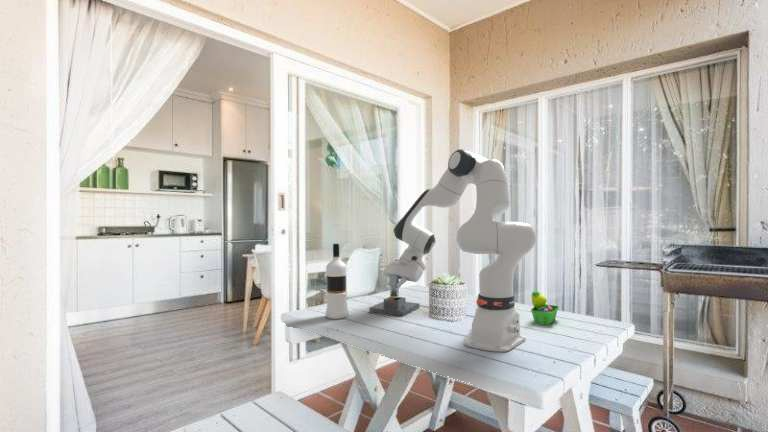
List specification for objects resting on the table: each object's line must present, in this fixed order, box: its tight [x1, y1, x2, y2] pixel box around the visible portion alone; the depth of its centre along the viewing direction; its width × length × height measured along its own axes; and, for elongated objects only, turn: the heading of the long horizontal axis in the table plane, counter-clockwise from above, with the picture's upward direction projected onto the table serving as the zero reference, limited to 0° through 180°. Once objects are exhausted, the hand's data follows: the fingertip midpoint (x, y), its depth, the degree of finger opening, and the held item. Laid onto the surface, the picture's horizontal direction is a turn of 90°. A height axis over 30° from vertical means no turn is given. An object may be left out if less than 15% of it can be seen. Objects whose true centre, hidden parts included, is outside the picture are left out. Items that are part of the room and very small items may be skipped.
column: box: [389, 274, 400, 300], centre depth 176 cm, size 4×4×10 cm
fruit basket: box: [530, 290, 560, 326], centre depth 156 cm, size 11×9×11 cm
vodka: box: [325, 243, 350, 320], centre depth 166 cm, size 9×9×30 cm
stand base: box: [368, 296, 420, 317], centre depth 176 cm, size 16×16×6 cm
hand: (393, 285), depth 175 cm, fingers closed on column, 4 cm apart
